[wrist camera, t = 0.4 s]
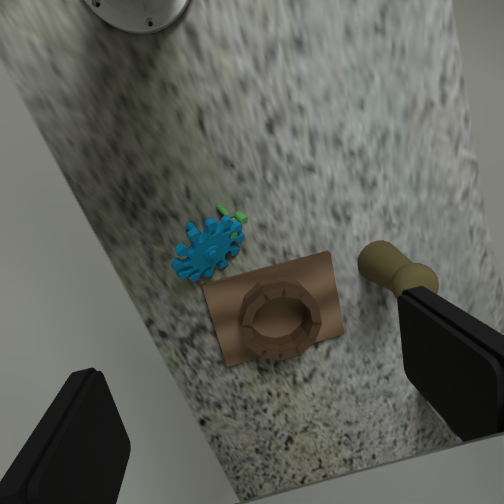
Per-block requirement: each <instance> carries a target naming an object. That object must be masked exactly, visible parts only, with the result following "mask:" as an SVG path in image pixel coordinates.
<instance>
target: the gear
mask: <svg viewBox="0 0 504 504" xmlns="http://www.w3.org/2000/svg"><path fill="white" fill-rule="evenodd" d="M217 209H218V210H219V211H220V212H221V213H222V214H223V217H222V219H221V220H220V221H219V222H217V221H216V220H215V219H214V218H211V219H206V221H205V223H204V224H205V229H204V232H203V234H201V233H200V231H199V230H198V229H197V228H196V226H195V225H194V224H193V223H192V222H190V223H188V224H187V225H186V228H187V229H188V230H189V231H188V232H187V236H188V237H189V238H190V240H191V241H192V246H191V247H190V248H189V249H187V247H186V246H185V245H184V244H183V243H180V244H178V245H177V247H176V248H175V249H174V251H175V252H176V254H177V255H178V256H187V258H186V259H184V260H181V259H179V258H174V259H173V260H172V263H171V266H172V268H173V269H174V271H176V273H177V275H178V276H179V277H180V279H181V280H183V279H185V278H186V277H187V276H188V277H189V279H190V280H191V281H195V282H196V281H197V280H198V279H199V277H200V275H201V274H202V273H203V275H204V276H205V277H210V276H212V275H213V274H214V267H215V265H216V264H218V266H219V267H220V268H223V267H225V266H226V265H228V261H227V260H226V259H225V255H226V253H227V252H229V253H230V254H231V255H232V256H235V255H236V254H237V253H238V252H239V248H238V247H237V246H236V245H230V244H231V243H232V242H233V241H236V242H237V243H241V242H242V241H243V239H244V236H245V235H244V234H243V233H242V232H241V230H242V225H241V224H245V223H246V222H247V221H248V218H247V217H246V216H245V215H244V214H243V213H242V212H241V211H238V212H237V213H236V214H234V213H233V212H231V213H229V212H228V211H227V210H226V209H225V208H224V207H223V206H222V205H221V204H219V205H217ZM186 266H188V267H186ZM183 267H186V268H183Z"/></svg>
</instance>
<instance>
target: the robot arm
mask: <svg viewBox="0 0 504 504" xmlns="http://www.w3.org/2000/svg"><path fill="white" fill-rule="evenodd" d="M84 1H85V2H86V3H87V4H88V6H89V7H90V8H91V9H92V10H93V11H94V12H95V13H96V14H97V15H98V16H99V17H100V18H101V19H102V20H104V21H105V22H106V23H108V24H109V25H111V26H113V27H115V28H117V29H119V30H121V31H124V32H128V33H132V34H150V33H156V32H158V31H161V30H163V29H165V28H167V27H168V26H170V25H171V24H173V23H174V22H175V21H176V20H177V19H178V18H179V17H180V16H181V15H182V13H183V12H184V10H185V8H186V7H187V5H188V3H189V0H84ZM97 4H100V7H98V8H97V6H96V5H97ZM150 22H151V23H153V26H151V27H150V26H149V23H150ZM397 303H398V313H399V323H400V333H401V343H402V353H403V364H404V371H405V374H406V376H407V378H408V379H409V381H410V382H411V383H412V384H413V385H414V386H415V387H416V389H417V390H418V391H419V392H420V393H421V394H422V395H423V397H424V398H425V399H426V400H427V401H428V402H429V403H430V405H431V406H432V407H433V408H434V409H435V410H436V411H437V412H438V414H439V415H440V416H441V417H442V418H443V419H444V420H445V422H446V423H447V424H448V425H449V426H450V427H451V428H452V429H453V431H454V432H455V433H456V434H457V435H458V436H459V437H460V439H461V440H462V441H463V442H462V443H458V444H454V445H450V446H446V447H443V448H439V449H435V450H431V451H428V452H424V453H420V454H416V455H413V456H409V457H405V458H401V459H398V460H394V461H390V462H386V463H383V464H379V465H375V466H371V467H368V468H364V469H360V470H356V471H353V472H349V473H345V474H342V475H338V476H334V477H331V478H327V479H323V480H320V481H316V482H312V483H309V484H305V485H301V486H298V487H294V488H290V489H287V490H283V491H279V492H276V493H272V494H268V495H265V496H261V497H257V498H254V499H250V500H247V501H243V502H239V503H236V504H504V335H502V334H501V333H499V332H497V331H496V330H494V329H492V328H491V327H489V326H488V325H486V324H484V323H483V322H481V321H479V320H478V319H476V318H474V317H473V316H471V315H470V314H468V313H466V312H465V311H463V310H461V309H460V308H458V307H456V306H455V305H453V304H452V303H450V302H448V301H447V300H445V299H443V298H442V297H440V296H438V295H437V294H435V293H434V292H432V291H430V290H429V289H427V288H425V287H424V286H418V287H414V288H410V289H406V290H403V291H402V294H401V296H398V299H397ZM130 450H131V447H130V440H129V437H128V435H127V432H126V430H125V428H124V425H123V422H122V420H121V417H120V415H119V412H118V410H117V407H116V405H115V402H114V400H113V397H112V395H111V393H110V390H109V387H108V385H107V382H106V380H105V377H104V375H103V373H102V372H101V371H96V370H95V369H94V368H88V369H85V370H81V371H77V372H73V373H72V374H71V375H70V376H69V378H68V379H67V381H66V382H65V384H64V385H63V387H62V388H61V390H60V391H59V393H58V394H57V396H56V398H55V399H54V401H53V402H52V403H51V405H50V407H49V408H48V410H47V411H46V413H45V414H44V416H43V417H42V419H41V420H40V422H39V423H38V425H37V426H36V428H35V429H34V431H33V433H32V434H31V436H30V437H29V439H28V440H27V442H26V443H25V445H24V446H23V448H22V449H21V451H20V452H19V454H18V456H17V457H16V458H15V460H14V462H13V463H12V465H11V466H10V468H9V469H8V471H7V472H6V474H5V475H4V477H3V478H2V480H1V481H0V504H116V502H117V499H118V495H119V491H120V488H121V484H122V481H123V477H124V474H125V470H126V466H127V463H128V459H129V456H130Z"/></svg>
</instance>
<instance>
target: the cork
mask: <svg viewBox="0 0 504 504" xmlns="http://www.w3.org/2000/svg"><path fill="white" fill-rule="evenodd" d="M358 268H359V271H360V272H361V274H362V275H363V276H364V277H365V278H367V279H369V280H371V281H373V282H375V283H377V284H379V285H381V286H383V287H385V288H387V289H389V290H391V291H392V292H393V294H394V296H395V297H396V299H398V296H401V294H402V291H403V290H406V289H410V288H414V287H418V286H424V287H425V288H427V289H429V290H430V291H432V292H434V293H435V294H437V292H438V288H439V283H438V277H437V276H436V274H435V272H434V271H433V270H432V269H430V268H429V267H428V266H426V265H423V264H420V263H413V262H412V261H410V260H409V259H408V258H407V257H406V256H405V255H404V254H402V253H401V252H400V251H399V250H398V249H397V248H395V247H394V246H393V245H392V244H391V243H389V242H386V241H375V242H372V243H370V244H369V245H367V246H366V247H365V248H364V249H363V250H362V251H361V253H360V256H359V258H358Z"/></svg>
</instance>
